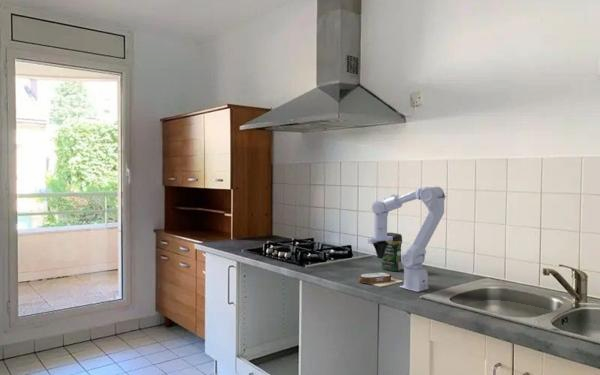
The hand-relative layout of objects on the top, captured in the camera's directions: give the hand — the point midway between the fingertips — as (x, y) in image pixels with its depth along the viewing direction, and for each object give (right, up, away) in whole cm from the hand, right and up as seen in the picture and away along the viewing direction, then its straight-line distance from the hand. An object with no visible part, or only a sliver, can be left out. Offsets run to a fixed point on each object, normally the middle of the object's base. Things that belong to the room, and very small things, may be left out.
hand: (380, 258), depth 195 cm
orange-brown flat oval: (-4, -8, +4) cm, 10 cm away
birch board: (+1, -10, -1) cm, 11 cm away
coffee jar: (+10, -10, +24) cm, 28 cm away
